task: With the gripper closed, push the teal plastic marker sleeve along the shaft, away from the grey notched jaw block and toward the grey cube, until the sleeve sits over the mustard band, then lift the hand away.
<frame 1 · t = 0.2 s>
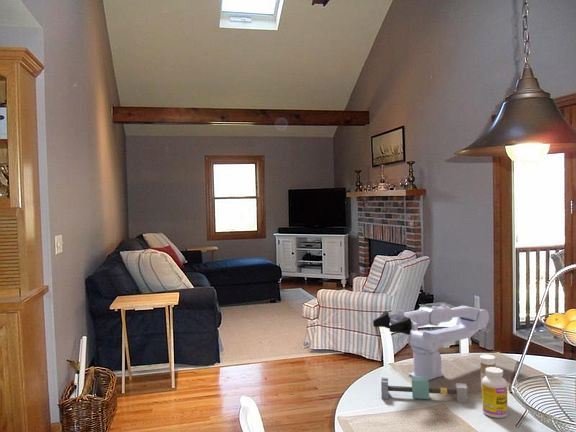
hand: (381, 325, 156), 21 cm above the table, tool horizontal, fingers open, 7 cm apart
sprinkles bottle: (488, 399, 146), on the table
supplement bottle: (495, 414, 136), on the table
grey cube: (461, 399, 146), on the table
sleeve: (420, 387, 149), point 3 cm above the table, slide at 0.0 cm
grey notched jaw block: (385, 395, 151), on the table
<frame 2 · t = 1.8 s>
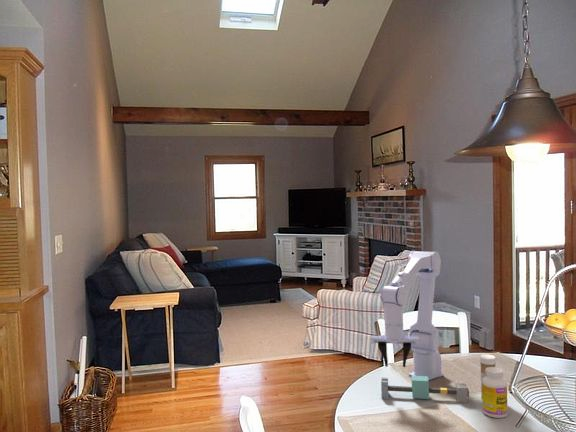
hand: (395, 365, 150), 10 cm above the table, tool pointing down, fingers open, 5 cm apart
nothing on the table moved.
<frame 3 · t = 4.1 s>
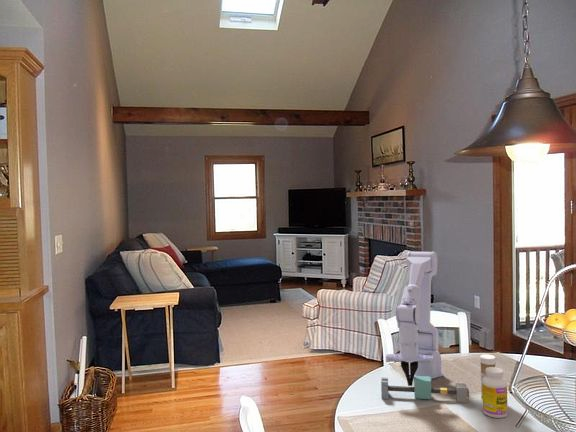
hand: (410, 384, 149), 4 cm above the table, tool pointing down, fingers closed
sleeve: (422, 387, 149), point 3 cm above the table, slide at 0.7 cm, touching gripper
everything else where it was.
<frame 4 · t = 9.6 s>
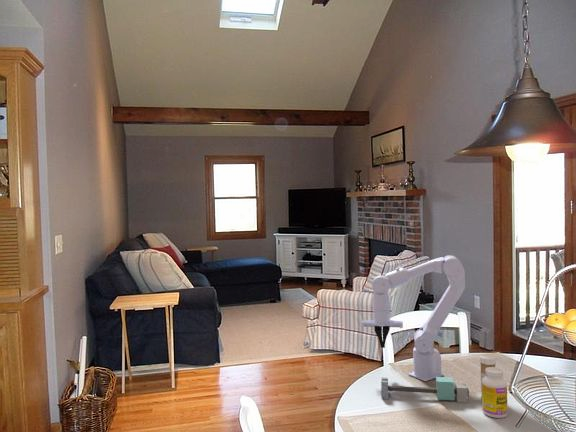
hand: (382, 346, 170), 10 cm above the table, tool pointing down, fingers closed
sleeve: (445, 388, 147), point 3 cm above the table, slide at 7.5 cm
everything else where it was.
at the end: sleeve slide at 7.5 cm; the gripper is holding nothing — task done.
